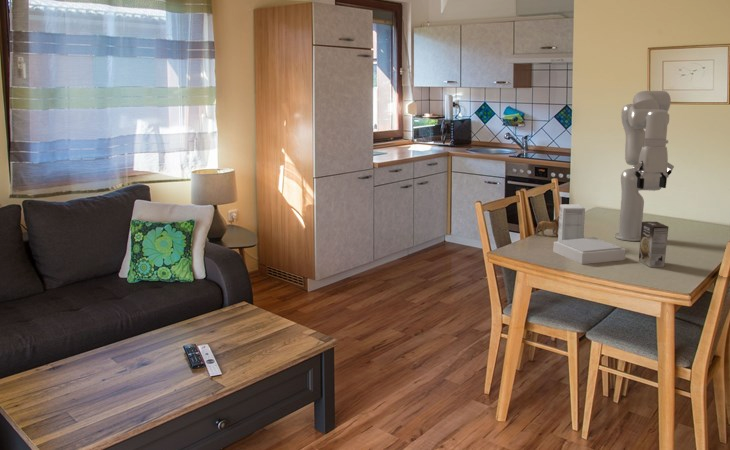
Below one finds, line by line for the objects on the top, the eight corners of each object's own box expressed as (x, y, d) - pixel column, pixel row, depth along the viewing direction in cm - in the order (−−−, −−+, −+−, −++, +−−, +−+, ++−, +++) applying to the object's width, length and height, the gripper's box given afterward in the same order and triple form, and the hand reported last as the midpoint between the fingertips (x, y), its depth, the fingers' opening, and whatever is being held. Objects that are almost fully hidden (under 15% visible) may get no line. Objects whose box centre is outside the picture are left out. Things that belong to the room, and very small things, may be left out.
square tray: (593, 248, 284) (594, 236, 283) (624, 259, 265) (625, 247, 264) (553, 251, 278) (553, 240, 277) (581, 264, 260) (582, 251, 259)
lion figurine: (560, 232, 312) (561, 214, 310) (566, 235, 307) (567, 216, 305) (531, 234, 309) (532, 215, 307) (536, 237, 304) (537, 218, 302)
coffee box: (637, 261, 264) (641, 221, 260) (653, 260, 264) (656, 220, 261) (649, 267, 255) (652, 226, 251) (665, 266, 255) (669, 226, 252)
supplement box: (579, 241, 296) (581, 204, 292) (583, 246, 287) (586, 208, 283) (557, 240, 297) (559, 203, 293) (561, 245, 288) (563, 207, 284)
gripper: (668, 142, 258) (664, 185, 261) (628, 143, 254) (625, 187, 258) (681, 143, 251) (677, 188, 254) (641, 144, 247) (637, 190, 250)
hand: (651, 187), depth 256 cm, fingers open, 9 cm apart
